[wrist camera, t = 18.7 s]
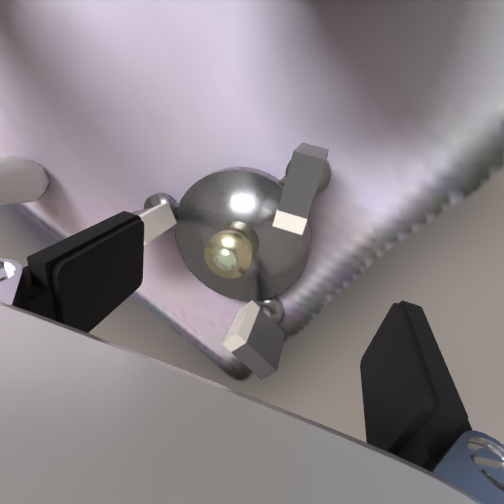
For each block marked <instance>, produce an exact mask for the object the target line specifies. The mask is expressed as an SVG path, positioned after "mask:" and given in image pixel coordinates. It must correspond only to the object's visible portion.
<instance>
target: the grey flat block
mask: <svg viewBox="0 0 504 504" xmlns="http://www.w3.org/2000/svg"><path fill="white" fill-rule="evenodd" d="M132 214H135V215H138V216H140V217H141V220H142V221H143V222H144V245H146V244H148V243H149V242H151V241H152V240H154V239H155V238H156V237H158V236H159V235H161V234H162V233H163V232H165V231H166V230H168V229H169V228H171V227H172V226H173V225H175V224H176V223H177V222H176V220H175V218H174V215H173V213H172V210H171V208H170V205H169V203H168V202H167V203H164V204H160V205H157V206H154V207H151V208H147V209H143V210H140V211H136V212H132Z"/></svg>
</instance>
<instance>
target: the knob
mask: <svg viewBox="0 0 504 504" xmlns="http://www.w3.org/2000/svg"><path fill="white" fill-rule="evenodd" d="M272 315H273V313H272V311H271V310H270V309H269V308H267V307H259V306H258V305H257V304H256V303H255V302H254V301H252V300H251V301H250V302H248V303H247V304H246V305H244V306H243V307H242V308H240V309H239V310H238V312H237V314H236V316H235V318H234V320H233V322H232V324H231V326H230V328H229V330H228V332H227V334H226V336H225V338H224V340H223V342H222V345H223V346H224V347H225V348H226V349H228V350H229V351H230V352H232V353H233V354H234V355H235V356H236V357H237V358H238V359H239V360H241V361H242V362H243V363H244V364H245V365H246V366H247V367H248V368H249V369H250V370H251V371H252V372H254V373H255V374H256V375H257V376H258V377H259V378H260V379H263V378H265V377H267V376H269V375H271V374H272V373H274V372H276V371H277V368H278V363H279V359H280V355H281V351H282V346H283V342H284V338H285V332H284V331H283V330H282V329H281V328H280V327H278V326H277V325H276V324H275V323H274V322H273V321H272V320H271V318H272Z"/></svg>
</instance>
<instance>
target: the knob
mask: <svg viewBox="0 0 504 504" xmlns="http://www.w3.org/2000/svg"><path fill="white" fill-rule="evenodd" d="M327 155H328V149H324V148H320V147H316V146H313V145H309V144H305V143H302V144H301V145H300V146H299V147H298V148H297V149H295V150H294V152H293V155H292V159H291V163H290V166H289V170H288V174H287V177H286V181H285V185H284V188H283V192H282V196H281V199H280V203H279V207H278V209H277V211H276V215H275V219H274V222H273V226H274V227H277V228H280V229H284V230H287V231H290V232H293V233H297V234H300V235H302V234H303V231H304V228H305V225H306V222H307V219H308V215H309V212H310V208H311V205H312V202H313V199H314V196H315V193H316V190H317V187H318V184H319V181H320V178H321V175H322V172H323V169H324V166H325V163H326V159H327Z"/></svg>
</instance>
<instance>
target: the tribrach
mask: <svg viewBox="0 0 504 504" xmlns="http://www.w3.org/2000/svg"><path fill="white" fill-rule="evenodd" d="M290 163H291V161H290V162H289V164H288V166H287V168H286V175H285V176H284V177H283V178H282V179H281V180H278V179H277V178H276V177H274V176H272V175H270V174H268V173H265V172H263V171H260V170H256V169H252V168H244V167H234V168H227V169H222V170H219V171H217V172H214V173H212V174H210V175H208V176H206V177H204V178H203V179H201V180H199V181H198V182H196V183H195V184H194V185H193V186H192V187H191V188H190V189H189V190H188V191H187V192H186V193H185V195H184V196H183V198H182V200H181V202H180V204H179V203H177V202H176V201H175V200H174V199H173V198H172V197H171V196H169V195H167V194H164V193H158V194H155V195H153V196H151V197H149V198H148V199H147V200H146V202H145V204H144V209H147V208H151V207H154V206H157V205H160V204H164V203H167V202H168V203H169V205H170V208H171V210H172V213H173V215H174V218H175V220H176V222H177V223H176V224H175V225H173V226H172V227H171V228H173V229H175V238H176V242H177V246H178V249H179V252H180V254H181V256H182V258H183V260H184V262H185V264H186V265H187V267H188V268H189V269H190V271H191V272H192V273H193V274H194V275H195V276H196V277H197V278H198V279H199V280H200V281H201V282H202V283H203V284H205V285H206V286H207V287H209V288H210V289H212V290H214V291H216V292H217V293H219V294H222V295H224V296H227V297H230V298H234V299H239V300H249V301H251V300H252V301H254V302H255V303H256V304H257V305H258V306H259V307H267V308H269V309H270V310H271V311H272V313H273V315H272V318H271V320H272V321H273V322H274V323H275V324H276V323H278V322H279V321H280V320H281V318H282V314H283V310H284V309H283V304H282V302H281V301H280V300H279V299H278V298H277V297H276V295H278V294H280V293H282V292H283V291H285V290H286V289H288V288H289V287H290V286H291V285H292V284H294V282H295V281H296V280H297V279H298V278H299V276H300V275H301V273H302V271H303V269H304V267H305V265H306V262H307V258H308V254H309V249H310V242H311V230H310V224H309V220H308V219H307V222H306V225H305V228H304V231H303V234H302V235H300V234H297V233H293V232H290V231H287V230H284V229H280V228H277V227H274V226H273V222H274V219H275V215H276V211H277V209H278V207H279V203H280V199H281V196H282V192H283V188H284V185H285V181H286V177H287V174H288V170H289V166H290ZM329 179H330V165H329V163H328V161H327V159H326V163H325V166H324V169H323V172H322V175H321V178H320V181H319V184H318V187H317V190H316V193H315V195H316V194H318V193H320V192H321V191H323V190H324V188H325V187H326V186H327V184H328V182H329ZM169 229H170V228H169Z"/></svg>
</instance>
